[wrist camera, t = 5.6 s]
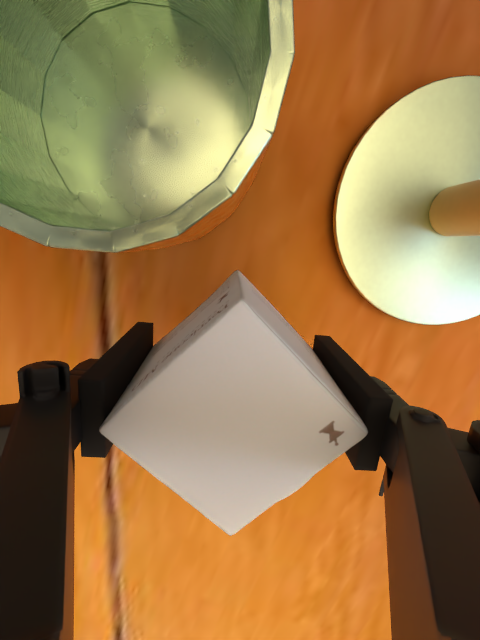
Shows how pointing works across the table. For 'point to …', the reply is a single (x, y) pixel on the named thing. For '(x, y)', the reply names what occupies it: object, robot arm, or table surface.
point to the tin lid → (416, 206)
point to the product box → (233, 409)
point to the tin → (135, 116)
